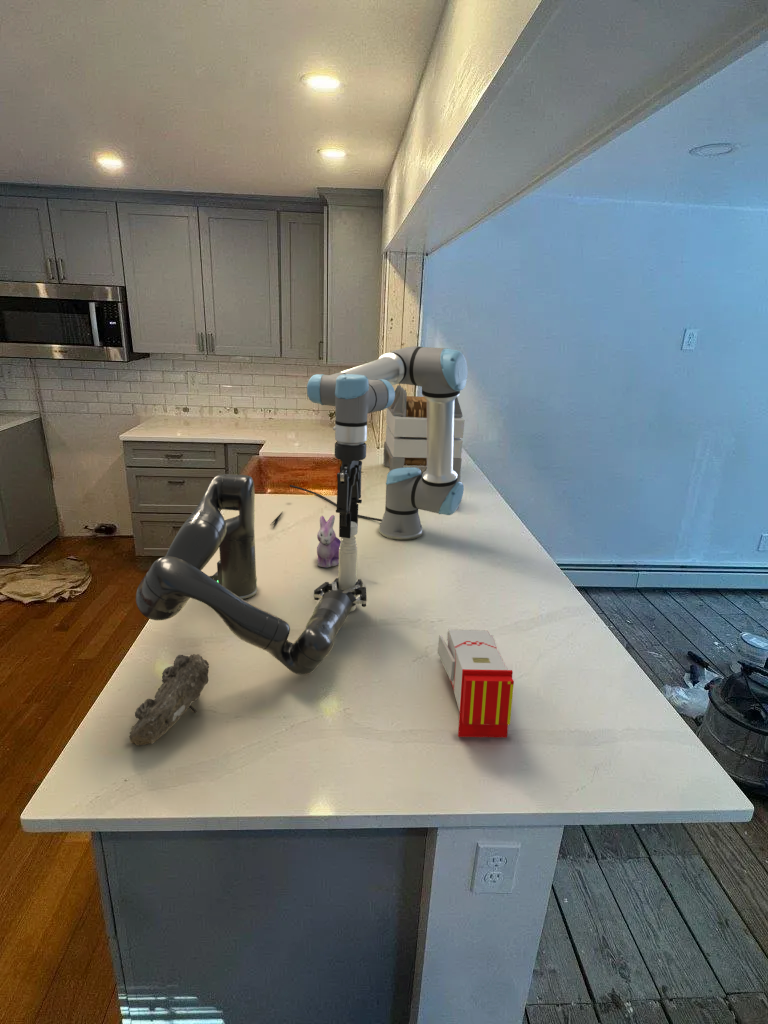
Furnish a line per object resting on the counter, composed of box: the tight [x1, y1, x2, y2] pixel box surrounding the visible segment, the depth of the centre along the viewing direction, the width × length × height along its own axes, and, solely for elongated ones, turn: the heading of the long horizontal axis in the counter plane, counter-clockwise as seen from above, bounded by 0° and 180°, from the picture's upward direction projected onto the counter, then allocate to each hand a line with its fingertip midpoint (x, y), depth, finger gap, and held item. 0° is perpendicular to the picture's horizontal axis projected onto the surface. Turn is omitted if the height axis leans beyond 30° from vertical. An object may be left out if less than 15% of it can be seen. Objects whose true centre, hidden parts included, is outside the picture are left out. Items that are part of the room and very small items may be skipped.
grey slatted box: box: [383, 384, 465, 482], centre depth 268 cm, size 34×33×41 cm
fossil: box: [128, 653, 210, 746], centre depth 108 cm, size 22×10×15 cm
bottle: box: [337, 535, 358, 613], centre depth 146 cm, size 5×5×23 cm
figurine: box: [316, 514, 341, 568], centre depth 173 cm, size 9×10×15 cm
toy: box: [437, 628, 515, 738], centre depth 117 cm, size 12×13×30 cm
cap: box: [351, 521, 359, 536], centre depth 142 cm, size 4×4×2 cm
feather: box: [270, 512, 283, 529], centre depth 212 cm, size 2×28×2 cm
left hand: (350, 581), depth 150 cm, fingers closed on bottle, 4 cm apart
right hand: (348, 532), depth 142 cm, fingers open, 6 cm apart
